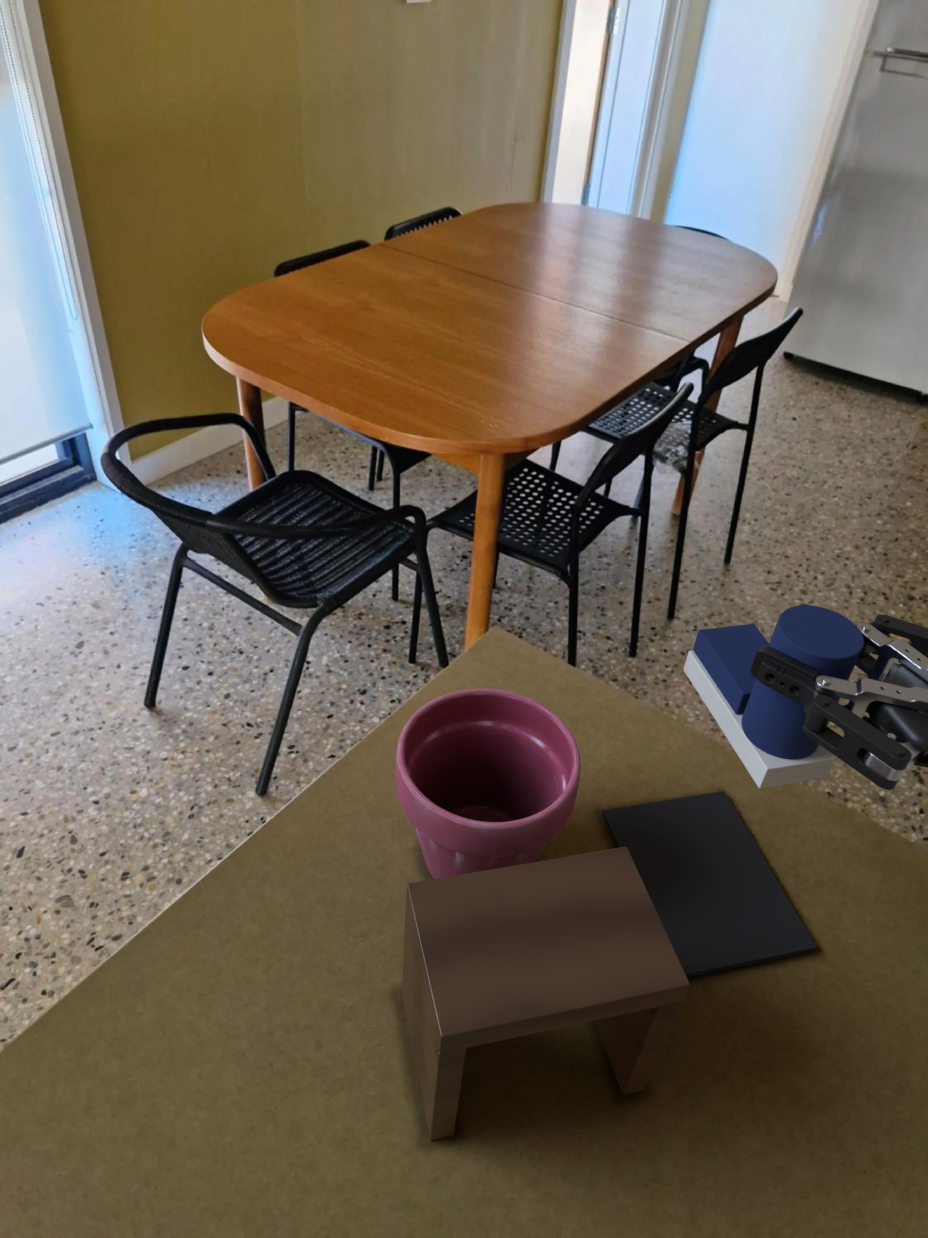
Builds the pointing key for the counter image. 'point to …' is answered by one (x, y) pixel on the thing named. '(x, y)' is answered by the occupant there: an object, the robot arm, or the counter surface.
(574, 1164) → the counter surface
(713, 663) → the boot
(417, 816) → the flower pot
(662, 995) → the shoe bench
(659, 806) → the shoe mat
